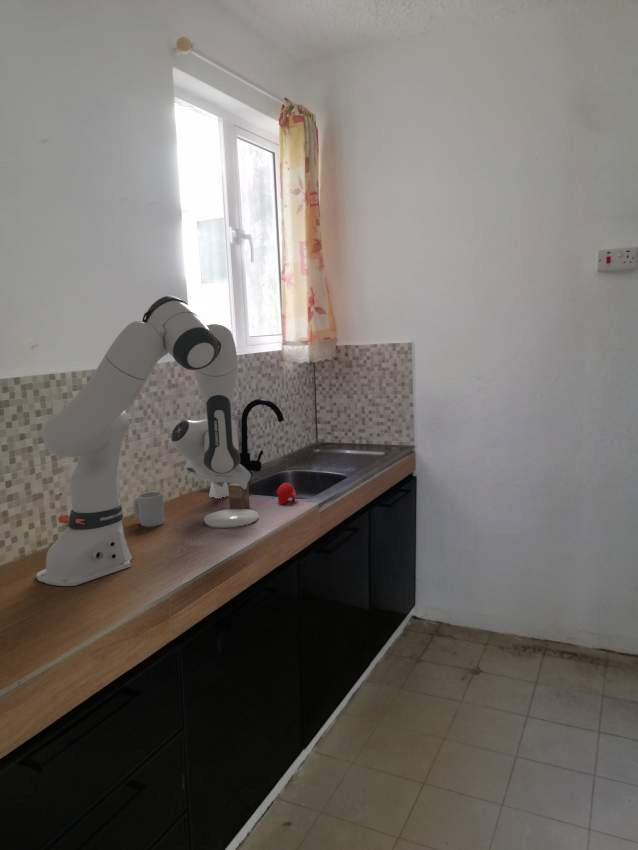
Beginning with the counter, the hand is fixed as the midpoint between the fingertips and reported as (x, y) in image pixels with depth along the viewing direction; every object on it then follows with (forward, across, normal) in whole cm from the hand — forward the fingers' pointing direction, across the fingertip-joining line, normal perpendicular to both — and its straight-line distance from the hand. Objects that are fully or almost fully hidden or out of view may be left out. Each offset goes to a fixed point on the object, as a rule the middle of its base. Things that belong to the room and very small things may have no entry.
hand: (233, 485), depth 197 cm
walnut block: (+8, +1, +3) cm, 9 cm away
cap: (+17, -8, -5) cm, 20 cm away
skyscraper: (+15, +17, -3) cm, 23 cm away
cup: (-9, +16, +21) cm, 28 cm away
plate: (0, -6, +12) cm, 13 cm away
